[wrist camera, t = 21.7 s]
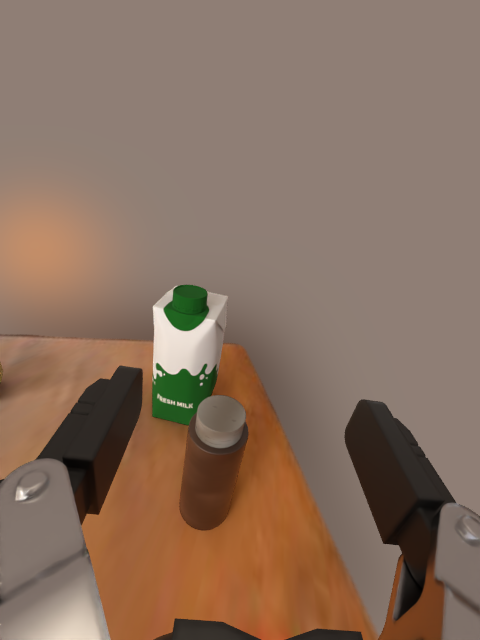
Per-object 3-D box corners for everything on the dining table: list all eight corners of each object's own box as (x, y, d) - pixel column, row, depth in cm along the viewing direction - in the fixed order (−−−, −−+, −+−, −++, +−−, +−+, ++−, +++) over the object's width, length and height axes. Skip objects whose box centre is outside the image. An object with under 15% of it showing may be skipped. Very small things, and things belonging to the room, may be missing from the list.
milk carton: (143, 420, 41) (145, 290, 31) (167, 380, 49) (174, 267, 39) (203, 435, 40) (223, 307, 31) (217, 392, 48) (236, 281, 39)
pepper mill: (170, 518, 30) (179, 424, 24) (191, 472, 35) (204, 384, 29) (220, 539, 29) (243, 447, 23) (235, 488, 34) (258, 401, 28)
